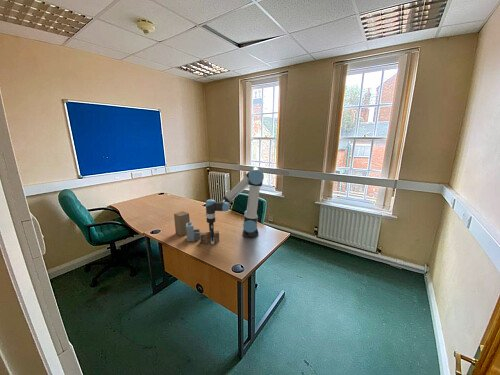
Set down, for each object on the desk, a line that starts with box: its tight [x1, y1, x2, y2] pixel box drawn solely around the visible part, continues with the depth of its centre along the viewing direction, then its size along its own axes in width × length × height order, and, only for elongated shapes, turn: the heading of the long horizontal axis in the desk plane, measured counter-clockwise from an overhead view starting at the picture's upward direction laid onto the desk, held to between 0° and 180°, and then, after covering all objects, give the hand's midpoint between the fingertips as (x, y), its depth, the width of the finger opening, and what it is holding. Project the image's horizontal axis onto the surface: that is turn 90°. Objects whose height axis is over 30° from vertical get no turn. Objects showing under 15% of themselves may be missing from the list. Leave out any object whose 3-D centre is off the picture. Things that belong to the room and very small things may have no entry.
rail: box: [199, 230, 220, 244], centre depth 181 cm, size 16×4×8 cm, turn 105°
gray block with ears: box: [186, 221, 201, 242], centre depth 185 cm, size 11×8×16 cm
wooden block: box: [173, 210, 191, 237], centre depth 195 cm, size 10×10×20 cm
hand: (212, 240), depth 182 cm, fingers open, 11 cm apart
